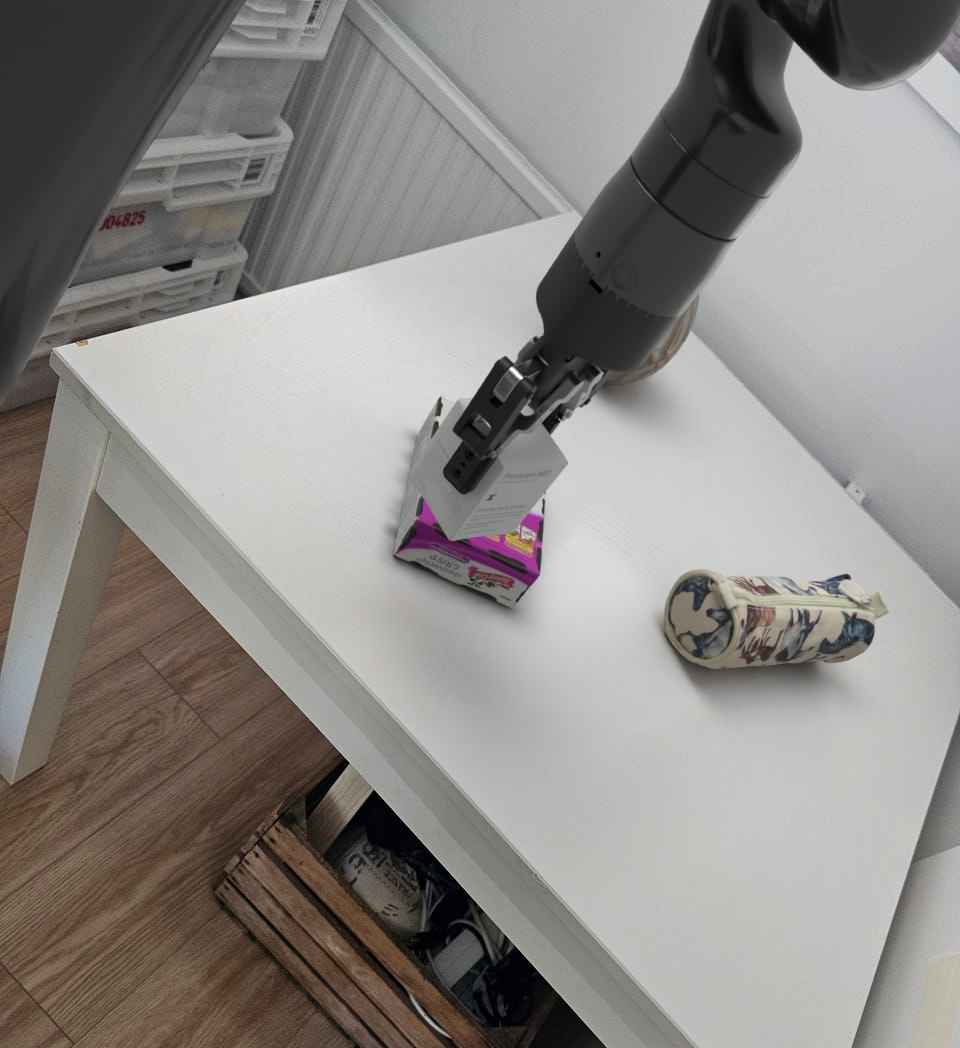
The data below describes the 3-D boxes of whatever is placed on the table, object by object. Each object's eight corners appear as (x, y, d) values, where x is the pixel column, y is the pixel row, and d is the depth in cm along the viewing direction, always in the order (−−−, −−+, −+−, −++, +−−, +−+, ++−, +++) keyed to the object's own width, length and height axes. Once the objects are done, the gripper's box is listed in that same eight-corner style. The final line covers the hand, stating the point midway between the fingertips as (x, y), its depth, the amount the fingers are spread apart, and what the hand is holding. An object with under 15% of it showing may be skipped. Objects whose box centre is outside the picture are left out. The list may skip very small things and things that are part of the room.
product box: (447, 544, 68) (503, 469, 63) (404, 472, 70) (455, 394, 65) (514, 534, 72) (571, 463, 67) (471, 468, 74) (525, 394, 69)
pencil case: (791, 611, 106) (861, 553, 100) (831, 681, 102) (906, 625, 96) (637, 608, 94) (705, 541, 87) (676, 689, 90) (750, 624, 83)
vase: (527, 349, 110) (622, 212, 98) (562, 305, 120) (652, 175, 108) (625, 423, 111) (730, 296, 100) (652, 374, 121) (750, 253, 109)
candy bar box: (510, 613, 85) (524, 484, 96) (541, 577, 81) (553, 447, 92) (387, 557, 81) (416, 430, 92) (414, 517, 78) (441, 390, 89)
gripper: (642, 204, 63) (505, 399, 74) (520, 234, 52) (382, 457, 63) (730, 289, 62) (579, 474, 73) (624, 337, 51) (466, 544, 62)
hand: (488, 465), depth 68 cm, fingers closed on product box, 7 cm apart
